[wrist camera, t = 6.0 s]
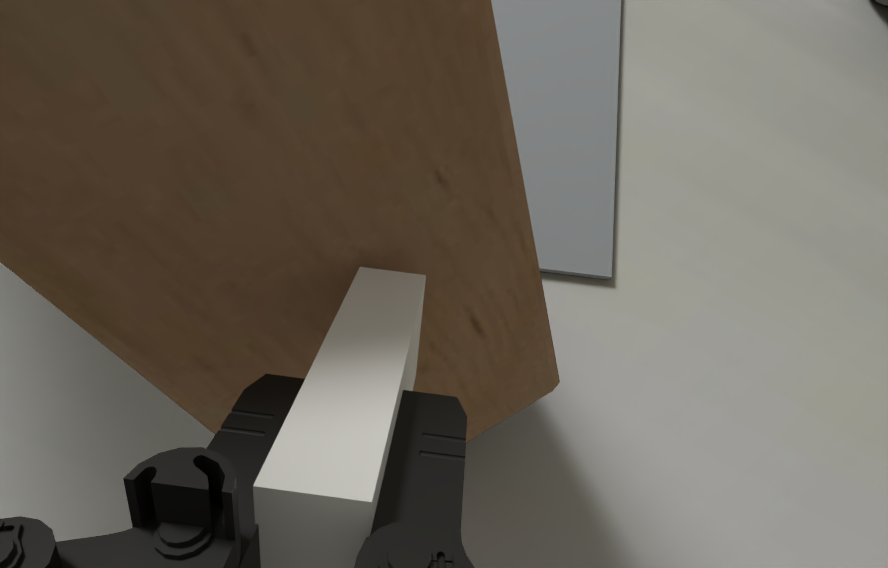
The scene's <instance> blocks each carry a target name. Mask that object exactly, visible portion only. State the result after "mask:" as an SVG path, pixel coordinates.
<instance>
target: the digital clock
mask: <svg viewBox="0 0 888 568" xmlns="http://www.w3.org/2000/svg"><path fill="white" fill-rule="evenodd" d="M875 1H877V2H878V3H880V4H883V5H887V6H888V0H875Z"/></svg>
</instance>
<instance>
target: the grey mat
mask: <svg viewBox="0 0 888 568" xmlns="http://www.w3.org/2000/svg"><path fill="white" fill-rule="evenodd" d="M491 2H492V8H493V14H494V19H495V25H496V30H497V36H498V41H499V47H500V52H501V58H502V64H503V69H504V75H505V80H506V86H507V91H508V97H509V102H510V108H511V114H512V119H513V125H514V130H515V136H516V141H517V147H518V153H519V158H520V164H521V169H522V175H523V180H524V186H525V191H526V197H527V203H528V208H529V214H530V219H531V225H532V230H533V236H534V241H535V247H536V253H537V258H538V264H539V269H540V271H542V272H550V273H558V274H566V275H575V276H583V277H591V278H599V279H607V280H609V279H610V278H611V277H612V253H613V223H614V194H615V164H616V135H617V106H618V76H619V47H620V18H621V0H491Z"/></svg>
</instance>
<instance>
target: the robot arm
mask: <svg viewBox="0 0 888 568" xmlns="http://www.w3.org/2000/svg"><path fill="white" fill-rule="evenodd" d="M425 280H426V275H421V274H413V273H405V272H397V271H389V270H382V269H374V268H366V267H360V268H359V270H358V272H357V274H356V276H355V278H354V280H353V282H352V284H351V286H350V288H349V290H348V292H347V294H346V296H345V298H344V300H343V302H342V304H341V306H340V309H339V311H338V313H337V315H336V317H335V319H334V321H333V323H332V325H331V327H330V329H329V331H328V333H327V335H326V337H325V339H324V341H323V343H322V345H321V347H320V350H319V352H318V354H317V356H316V358H315V360H314V362H313V364H312V366H311V368H310V370H309V372H308V374H307V376H306V378H305V379H303V378H295V377H288V376H280V375H273V374H265V375H263V376H262V377H261V378H259V379H258V380H256V381H255V382H254V383H252V384H251V385H249V386H248V387H247V388H245V389H244V390H243V392H242V393H241V395H240V397H239V398H238V400H237V401H236V403H235V405H234V406H233V408H232V411H231V413H229V414H228V416H227V417H226V419H225V420H224V422H223V424H222V425H221V429H220V430H218V432H217V433H216V435H215V436H214V438H213V440H212V441H211V443H210V444H209V446H208V447H207V449H205V448H178V449H174V450H170V451H166V452H162V453H159V454H157V455H155V456H153V457H151V458H149V459H147V460H145V461H143V462H142V463H140V464H138V465H137V466H136V467H135V468H134V469H133V470H132V471H131V472H130V473H129V474H128V475H127V476H126V477H124V478H123V479H124V484H125V489H126V494H127V500H128V505H129V510H130V515H131V520H132V526H133V527H132V528H131V529H128V530H126V531H122V532H118V533H114V534H109V535H103V536H96V537H89V538H82V539H74V540H67V541H60V542H55V538H54V535H53V531H52V529H51V528H49V527H48V526H47V525H46V524H44V523H43V522H42V521H40V520H37V519H32V518H26V517H13V518H5V519H0V568H474V566H473V565H472V563H471V562H470V560H469V559H468V557H467V556H466V553H465V551H464V548H463V545H462V543H461V531H460V529H461V513H462V496H463V480H464V463H465V461H464V460H465V447H466V431H467V415H466V413H465V411H464V409H463V407H462V405H461V404H460V402H459V400H458V398H457V397H454V396H446V395H439V394H431V393H423V392H416V391H413V387H414V382H415V377H416V369H417V359H418V349H419V339H420V330H421V320H422V310H423V300H424V290H425Z"/></svg>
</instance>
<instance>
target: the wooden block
mask: <svg viewBox="0 0 888 568" xmlns="http://www.w3.org/2000/svg"><path fill="white" fill-rule="evenodd" d="M0 262H1V263H2V264H4V265H5V266H6V267H7V268H9V269H10V270H11V271H12V272H14V273H15V274H16V275H17V276H19V277H20V278H21V279H22V280H24V281H25V282H26V283H27V284H29V285H30V286H31V287H32V288H33V289H35V290H36V291H37V292H38V293H40V294H41V295H42V296H43V297H45V298H46V299H47V300H48V301H50V302H51V303H52V304H53V305H55V306H56V307H57V308H58V309H60V310H61V311H62V312H63V313H65V314H66V315H67V316H68V317H70V318H71V319H72V320H73V321H75V322H76V323H77V324H78V325H80V326H81V327H82V328H83V329H85V330H86V331H87V332H88V333H90V334H91V335H92V336H93V337H95V338H96V339H97V340H98V341H99V342H101V343H102V344H103V345H104V346H106V347H107V348H108V349H109V350H111V351H112V352H113V353H114V354H116V355H117V356H118V357H119V358H121V359H122V360H123V361H124V362H126V363H127V364H128V365H129V366H131V367H132V368H133V369H134V370H136V371H137V372H138V373H139V374H141V375H142V376H143V377H144V378H146V379H147V380H148V381H149V382H151V383H152V384H153V385H154V386H156V387H157V388H158V389H159V390H161V391H162V392H163V393H164V394H165V395H167V396H168V397H169V398H170V399H172V400H173V401H174V402H175V403H177V404H178V405H179V406H180V407H182V408H183V409H184V410H185V411H187V412H188V413H189V414H190V415H192V416H193V417H194V418H195V419H197V420H198V421H199V422H200V423H202V424H203V425H204V426H205V427H207V428H208V429H209V430H210V431H212V432H213V433H214V434H215V435H216V433H217V432H218V430H220V429H221V425H222V424H223V422H224V420H225V419H226V417H227V416H228V414H229V413H231V411H232V408H233V406H234V405H235V403H236V401H237V400H238V398H239V397H240V395H241V393H242V392H243V390H244V389H245V388H247V387H248V386H249V385H251V384H252V383H254V382H255V381H256V380H258V379H259V378H261V377H262V376H263V375H265V374H273V375H280V376H288V377H295V378H303V379H305V378H306V376H307V374H308V372H309V370H310V368H311V366H312V364H313V362H314V360H315V358H316V356H317V354H318V352H319V350H320V347H321V345H322V343H323V341H324V339H325V337H326V335H327V333H328V331H329V329H330V327H331V325H332V323H333V321H334V319H335V317H336V315H337V313H338V311H339V309H340V306H341V304H342V302H343V300H344V298H345V296H346V294H347V292H348V290H349V288H350V286H351V284H352V282H353V280H354V278H355V276H356V274H357V272H358V270H359V268H360V267H366V268H374V269H382V270H389V271H397V272H405V273H413V274H421V275H426V280H425V290H424V300H423V310H422V320H421V330H420V339H419V349H418V359H417V369H416V377H415V382H414V387H413V391H416V392H423V393H431V394H439V395H446V396H454V397H457V398H458V400H459V402H460V404H461V405H462V407H463V409H464V411H465V413H466V415H467V431H466V442H468V441H470V440H471V439H473V438H475V437H476V436H478V435H480V434H481V433H483V432H485V431H486V430H488V429H490V428H491V427H493V426H495V425H496V424H498V423H500V422H501V421H503V420H505V419H506V418H508V417H510V416H511V415H513V414H515V413H516V412H518V411H520V410H521V409H523V408H525V407H526V406H528V405H530V404H531V403H533V402H535V401H536V400H538V399H540V398H541V397H543V396H545V395H546V394H548V393H550V392H551V391H553V390H554V388H555V387H556V386H557V385H558V383H559V382H560V380H559V375H558V369H557V364H556V358H555V353H554V347H553V341H552V336H551V330H550V325H549V319H548V314H547V308H546V303H545V297H544V291H543V286H542V280H541V275H540V269H539V264H538V258H537V253H536V247H535V241H534V236H533V230H532V225H531V219H530V214H529V208H528V203H527V197H526V191H525V186H524V180H523V175H522V169H521V164H520V158H519V153H518V147H517V141H516V136H515V130H514V125H513V119H512V114H511V108H510V102H509V97H508V91H507V86H506V80H505V75H504V69H503V64H502V58H501V52H500V47H499V41H498V36H497V30H496V25H495V19H494V14H493V8H492V2H491V0H0Z"/></svg>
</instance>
